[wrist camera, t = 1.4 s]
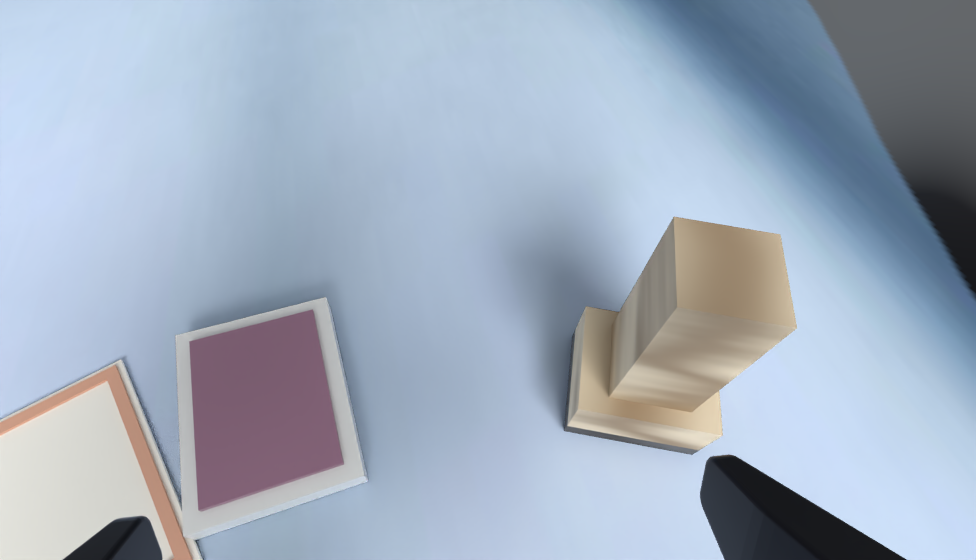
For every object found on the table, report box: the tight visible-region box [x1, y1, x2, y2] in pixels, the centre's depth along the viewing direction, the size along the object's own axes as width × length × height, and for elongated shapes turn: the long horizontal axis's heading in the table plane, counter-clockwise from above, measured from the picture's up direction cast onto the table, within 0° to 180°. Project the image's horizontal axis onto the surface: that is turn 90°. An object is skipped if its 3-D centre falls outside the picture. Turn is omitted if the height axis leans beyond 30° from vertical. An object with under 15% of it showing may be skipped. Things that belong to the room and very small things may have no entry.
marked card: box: [0, 360, 203, 560], centre depth 20 cm, size 10×10×1 cm
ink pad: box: [175, 297, 368, 540], centre depth 23 cm, size 9×7×2 cm
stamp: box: [564, 217, 797, 455], centre depth 21 cm, size 6×5×11 cm
